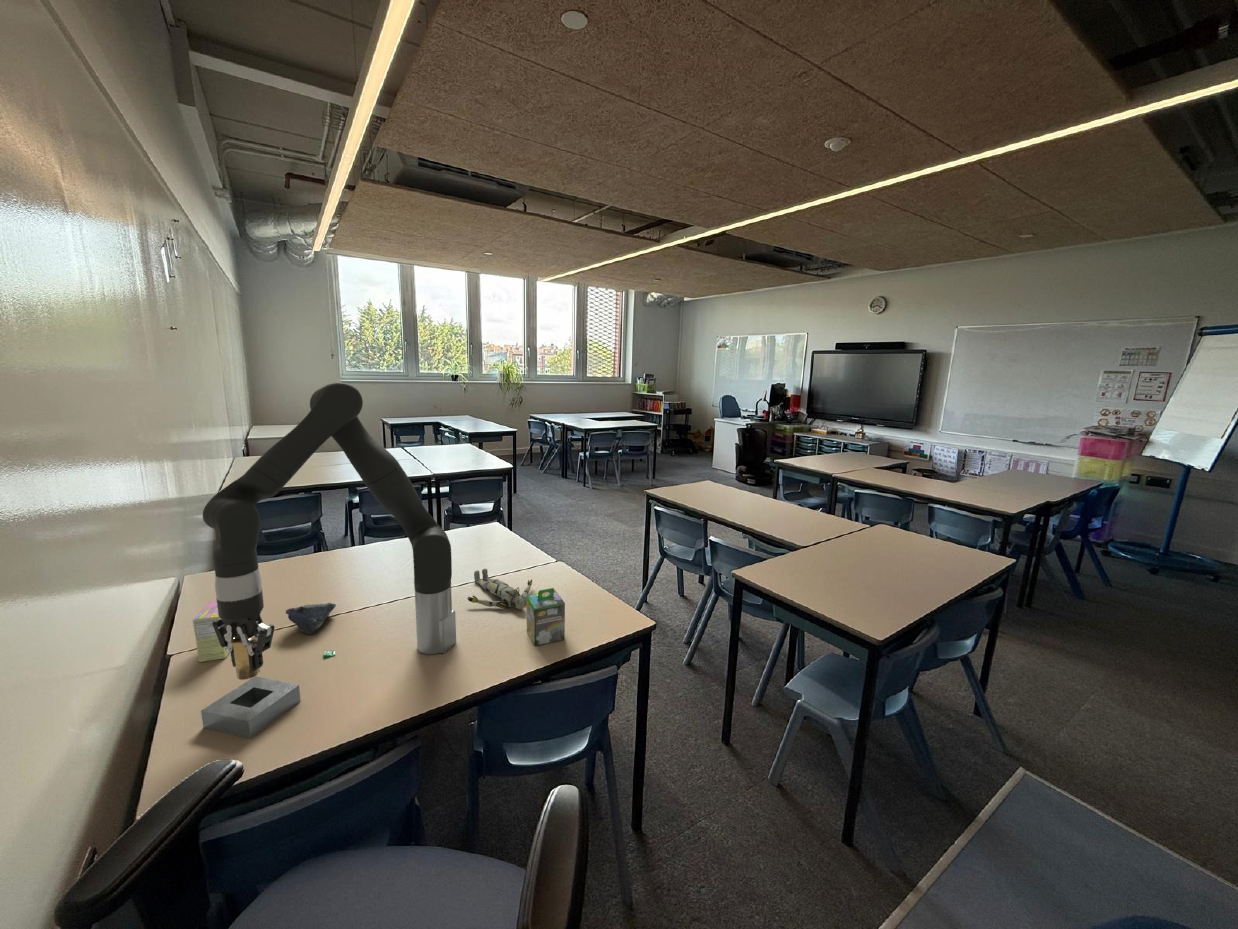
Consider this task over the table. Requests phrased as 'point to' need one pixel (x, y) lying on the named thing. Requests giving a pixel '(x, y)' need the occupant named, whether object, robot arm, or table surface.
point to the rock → (310, 616)
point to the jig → (245, 721)
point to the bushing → (243, 660)
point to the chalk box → (545, 617)
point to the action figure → (500, 592)
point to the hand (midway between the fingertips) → (247, 666)
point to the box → (208, 635)
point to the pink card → (328, 653)
